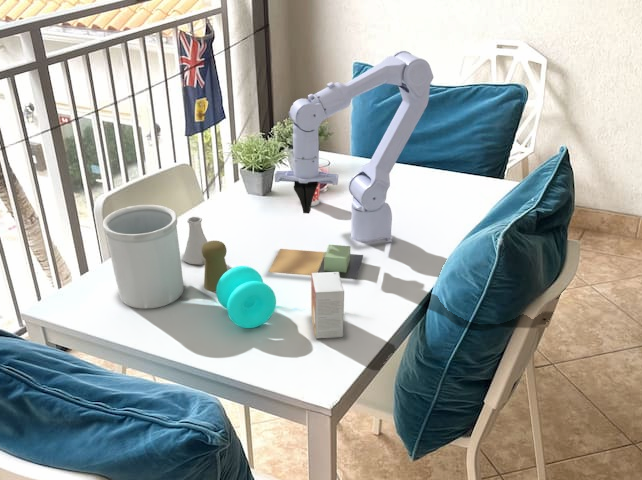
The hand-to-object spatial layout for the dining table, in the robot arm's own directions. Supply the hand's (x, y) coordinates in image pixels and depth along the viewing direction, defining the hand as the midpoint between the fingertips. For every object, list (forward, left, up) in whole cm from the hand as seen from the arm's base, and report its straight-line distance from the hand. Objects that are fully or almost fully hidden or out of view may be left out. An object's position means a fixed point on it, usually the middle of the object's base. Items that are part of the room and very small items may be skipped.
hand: (306, 211), depth 164 cm
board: (+1, +10, -9) cm, 14 cm away
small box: (+8, +36, -10) cm, 38 cm away
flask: (+26, -3, -10) cm, 28 cm away
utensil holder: (+39, +10, -10) cm, 41 cm away
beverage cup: (-10, -26, -10) cm, 30 cm away
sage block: (-3, +13, -8) cm, 16 cm away
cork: (+25, +13, -10) cm, 30 cm away
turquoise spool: (+22, +27, -10) cm, 36 cm away
